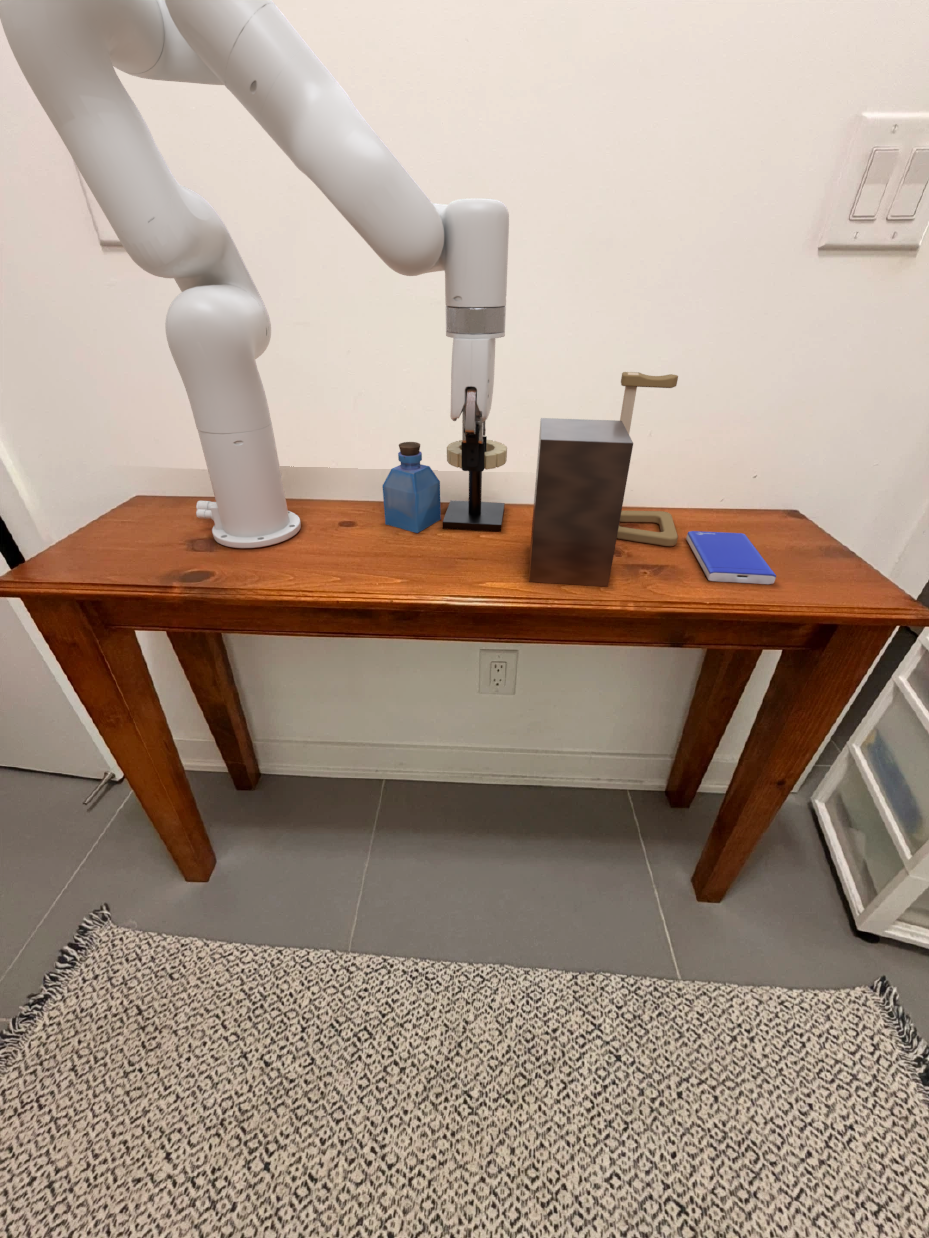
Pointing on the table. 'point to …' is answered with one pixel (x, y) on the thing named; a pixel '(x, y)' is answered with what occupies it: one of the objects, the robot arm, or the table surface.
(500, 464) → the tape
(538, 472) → the stand box
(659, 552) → the table surface
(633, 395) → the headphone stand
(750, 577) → the hard drive
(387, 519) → the perfume bottle
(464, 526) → the post
